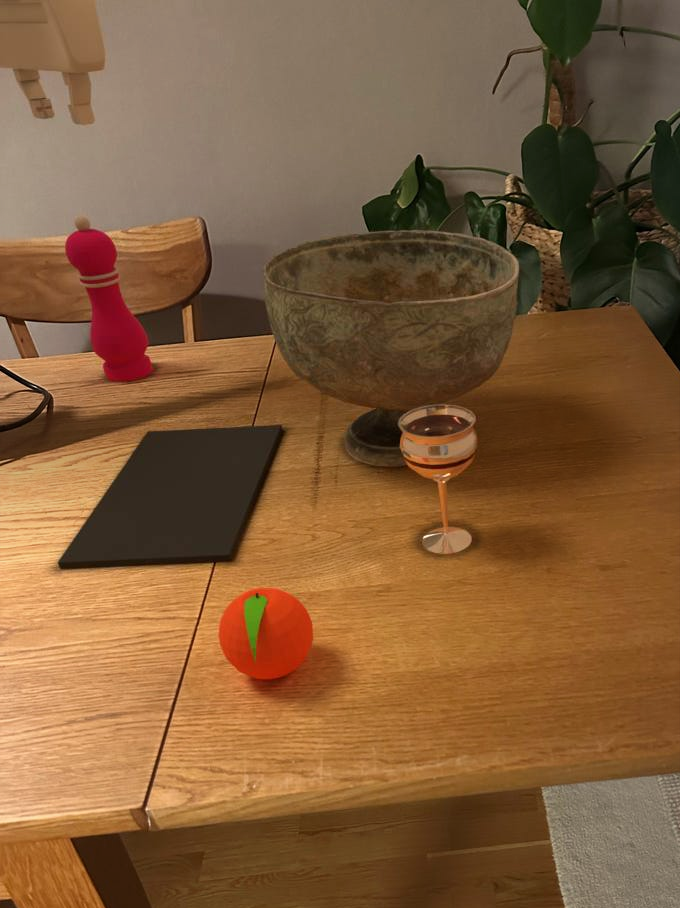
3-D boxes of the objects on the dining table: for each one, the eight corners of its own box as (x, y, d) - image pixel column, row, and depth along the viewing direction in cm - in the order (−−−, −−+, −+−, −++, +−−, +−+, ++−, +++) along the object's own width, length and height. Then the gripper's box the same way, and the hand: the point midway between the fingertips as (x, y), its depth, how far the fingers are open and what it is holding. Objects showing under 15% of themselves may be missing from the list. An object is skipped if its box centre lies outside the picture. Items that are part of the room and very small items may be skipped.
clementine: (316, 703, 62) (298, 628, 57) (221, 712, 62) (196, 637, 57) (323, 636, 68) (307, 563, 64) (237, 644, 68) (216, 571, 63)
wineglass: (476, 517, 81) (469, 400, 74) (488, 555, 76) (483, 432, 69) (407, 526, 81) (393, 408, 73) (415, 565, 76) (401, 442, 68)
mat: (60, 569, 78) (57, 562, 77) (149, 437, 99) (147, 431, 99) (230, 562, 77) (229, 554, 77) (283, 430, 99) (281, 424, 99)
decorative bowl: (275, 408, 103) (244, 234, 90) (473, 379, 109) (470, 211, 96) (311, 518, 84) (277, 317, 71) (548, 475, 90) (558, 282, 77)
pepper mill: (163, 374, 115) (117, 215, 103) (110, 388, 112) (56, 226, 100) (148, 360, 120) (101, 206, 107) (96, 372, 117) (43, 216, 104)
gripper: (-60, -40, 85) (-5, 118, 94) (26, -50, 74) (79, 132, 82) (2, -42, 89) (49, 111, 97) (93, -52, 77) (137, 123, 86)
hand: (64, 121), depth 90 cm, fingers open, 8 cm apart
